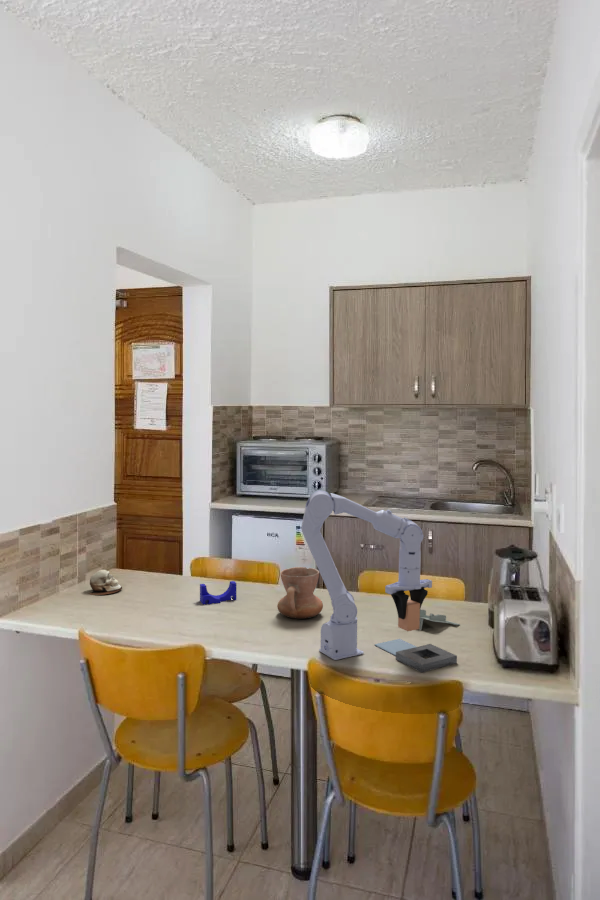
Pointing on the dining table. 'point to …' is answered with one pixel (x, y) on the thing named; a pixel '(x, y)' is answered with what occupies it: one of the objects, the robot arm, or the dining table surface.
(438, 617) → the metal bracket
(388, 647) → the rubber mat
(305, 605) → the ceramic jug
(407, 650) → the socket plate
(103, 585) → the skull
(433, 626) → the dining table surface
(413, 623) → the square peg
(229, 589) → the blue curved cradle
